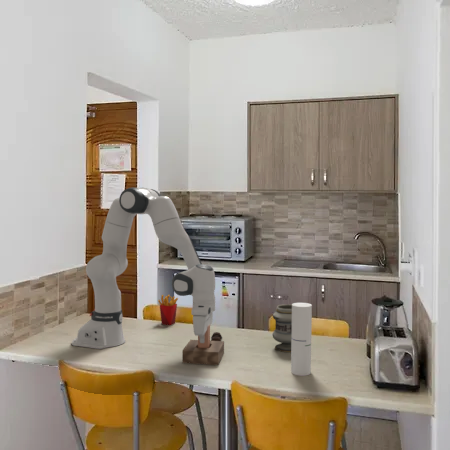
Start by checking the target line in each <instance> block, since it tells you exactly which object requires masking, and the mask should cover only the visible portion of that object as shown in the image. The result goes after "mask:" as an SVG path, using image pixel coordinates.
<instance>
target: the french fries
mask: <svg viewBox="0 0 450 450" xmlns="http://www.w3.org/2000/svg"><path fill="white" fill-rule="evenodd" d="M160 299H161V300H160ZM160 299H158V300H157V301H158V303H159V312H160V320H161V321H160V322H161V325H162V326H163V325H164V326H168V327H169V326H172V325H175V324H176V318H177V309H178V304H177V301H178V300H179V298H178V297H175V296H170V294H168V295H166V296H165V297H164V294H161V297H160ZM169 299H170V301H169Z"/></svg>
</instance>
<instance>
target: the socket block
mask: <svg viewBox="0 0 450 450" xmlns="http://www.w3.org/2000/svg"><path fill="white" fill-rule="evenodd" d="M224 354H225V341H223V340H221V341H211V340H210V348H198V339H190V340H189V341H188V343H186V345H185V347H184V348H183V349H182V357H181V358H182V364H191V365H206V366H207V365H208V366H210V365H211V366H219V365H220V362H221V360H222V359H223V356H224Z"/></svg>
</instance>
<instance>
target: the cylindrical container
mask: <svg viewBox="0 0 450 450" xmlns="http://www.w3.org/2000/svg"><path fill="white" fill-rule="evenodd" d="M291 305H292V338H291V352H290V353H291V354H290V355H291V356H290V371H291V374H292V375H295V376H302V377H303V376H308V375H311V373H312V372H311V371H312V365H311V364H312V325H313V324H312V323H313V321H312V320H313V319H312V318H313V317H312V314H313V313H312V312H313V311H312V310H313V309H312V308H313V305H312V304H311V303H308V302H293V303H292V304H291Z"/></svg>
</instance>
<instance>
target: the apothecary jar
mask: <svg viewBox="0 0 450 450" xmlns="http://www.w3.org/2000/svg"><path fill="white" fill-rule="evenodd" d="M272 318H273V320H275V327H274V328H275V329H274V330H273V331H272V338H273V339H274V340H275V341H276V342H278V344H276V345H275V346H274V349H275V350H276V351H280V352H284V353H291V338H292V304H290V303H288V304H285V303H283V304H278V305H277V306H276V309H275V310H274V312H273V314H272Z"/></svg>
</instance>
